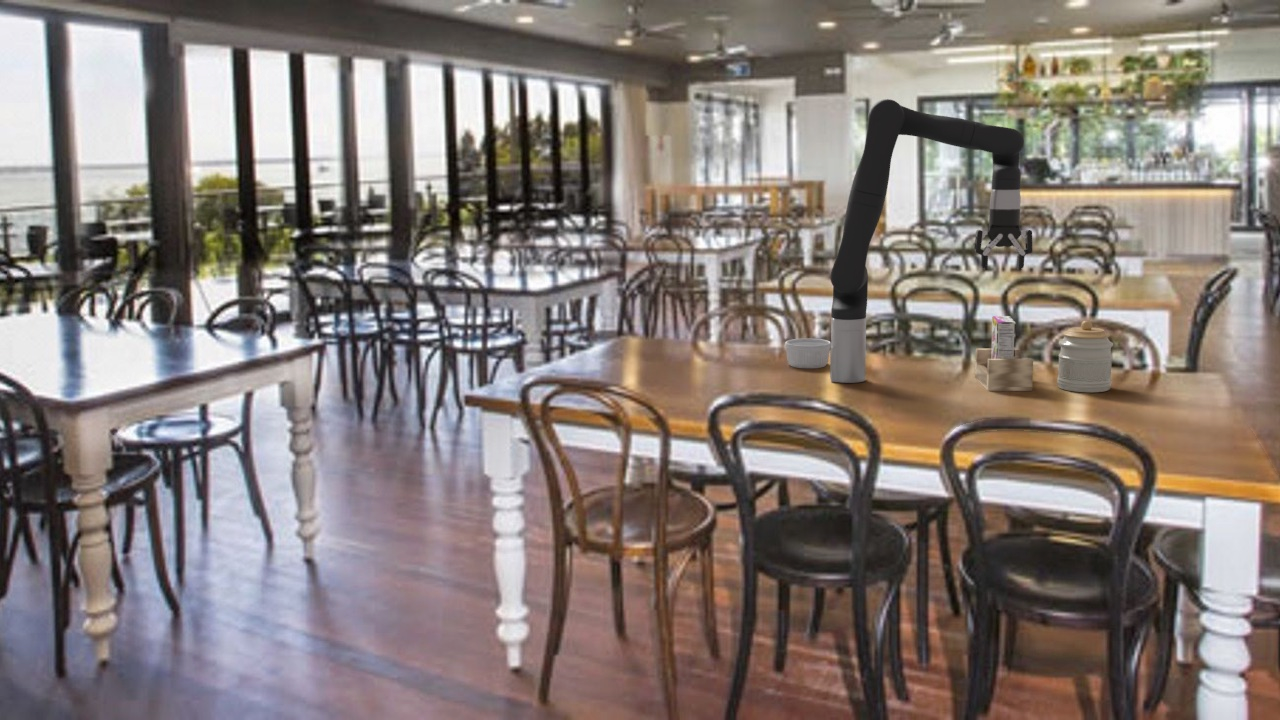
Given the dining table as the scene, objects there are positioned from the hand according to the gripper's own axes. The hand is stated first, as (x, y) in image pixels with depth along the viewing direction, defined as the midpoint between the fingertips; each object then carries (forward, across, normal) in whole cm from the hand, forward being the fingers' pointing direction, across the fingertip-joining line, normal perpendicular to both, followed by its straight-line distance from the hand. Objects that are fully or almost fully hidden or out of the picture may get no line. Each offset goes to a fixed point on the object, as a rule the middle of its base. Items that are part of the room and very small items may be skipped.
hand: (1002, 270), depth 298 cm
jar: (+30, +20, -6) cm, 37 cm away
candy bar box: (+29, +1, -1) cm, 29 cm away
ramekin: (+31, -49, +27) cm, 64 cm away
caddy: (+30, +1, -1) cm, 30 cm away
